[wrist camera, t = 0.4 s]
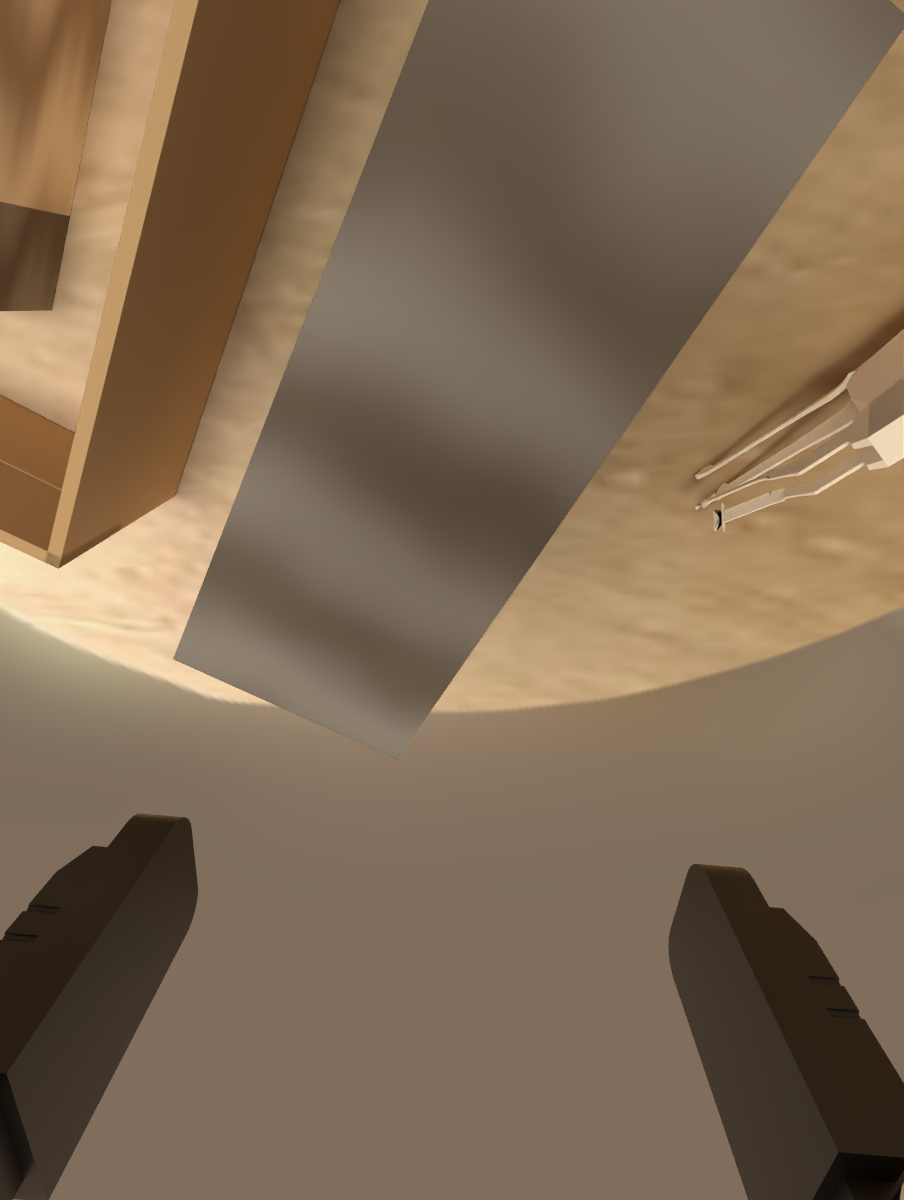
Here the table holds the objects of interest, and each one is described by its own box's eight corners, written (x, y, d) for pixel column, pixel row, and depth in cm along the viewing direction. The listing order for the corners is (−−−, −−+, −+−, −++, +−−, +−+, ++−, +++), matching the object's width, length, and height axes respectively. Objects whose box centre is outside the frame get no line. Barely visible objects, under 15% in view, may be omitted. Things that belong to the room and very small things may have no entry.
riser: (516, -8, 20) (547, -306, 10) (718, 146, 22) (909, 18, 12) (273, 544, 30) (173, 659, 20) (423, 619, 32) (396, 759, 22)
